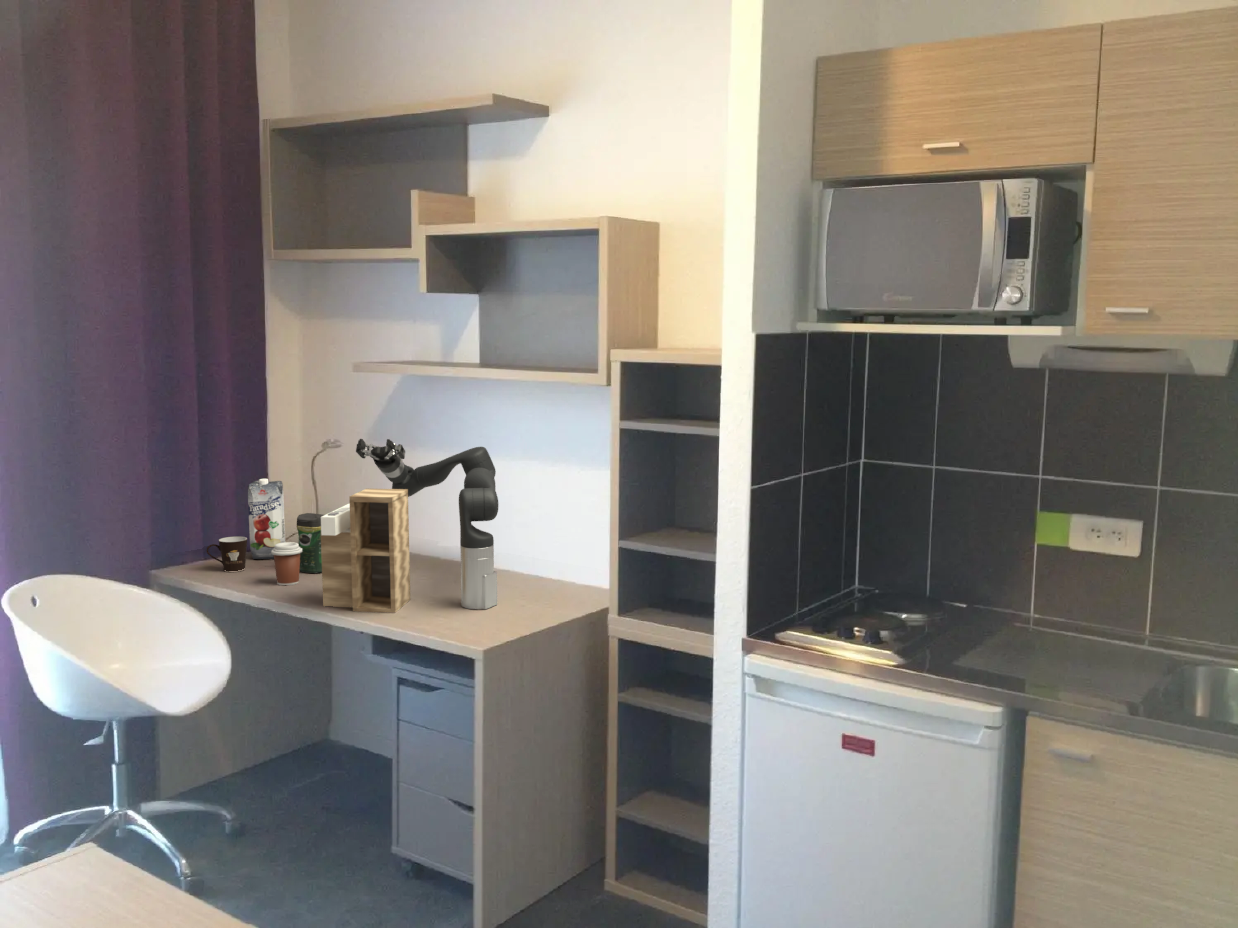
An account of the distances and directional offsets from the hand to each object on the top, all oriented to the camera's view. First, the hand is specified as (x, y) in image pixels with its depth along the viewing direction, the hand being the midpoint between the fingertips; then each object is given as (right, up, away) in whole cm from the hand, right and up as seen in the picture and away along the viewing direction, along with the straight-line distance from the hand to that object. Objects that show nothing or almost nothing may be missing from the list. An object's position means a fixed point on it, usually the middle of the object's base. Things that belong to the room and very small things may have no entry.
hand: (374, 441), depth 327 cm
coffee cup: (-27, -43, +3) cm, 51 cm away
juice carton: (-44, -38, +38) cm, 69 cm away
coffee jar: (-23, -41, +19) cm, 51 cm away
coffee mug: (-51, -41, +20) cm, 68 cm away
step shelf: (+3, -46, -21) cm, 51 cm away
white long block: (-4, -25, -21) cm, 33 cm away
